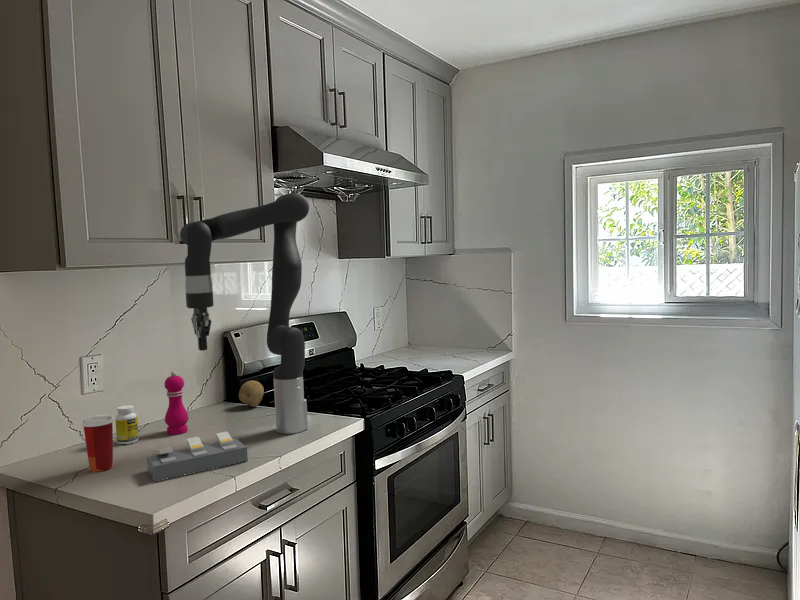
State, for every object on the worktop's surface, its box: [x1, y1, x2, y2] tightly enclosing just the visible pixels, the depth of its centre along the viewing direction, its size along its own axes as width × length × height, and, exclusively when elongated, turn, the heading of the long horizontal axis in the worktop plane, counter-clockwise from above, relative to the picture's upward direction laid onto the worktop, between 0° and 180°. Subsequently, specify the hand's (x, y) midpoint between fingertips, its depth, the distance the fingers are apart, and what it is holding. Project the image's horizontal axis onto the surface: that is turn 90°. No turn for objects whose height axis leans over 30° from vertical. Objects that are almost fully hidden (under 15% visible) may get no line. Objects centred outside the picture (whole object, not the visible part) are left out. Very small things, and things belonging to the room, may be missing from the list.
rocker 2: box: [215, 431, 234, 446], centre depth 170 cm, size 3×5×1 cm, turn 33°
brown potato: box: [238, 380, 265, 408], centre depth 226 cm, size 9×9×10 cm
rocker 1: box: [155, 446, 174, 454], centre depth 162 cm, size 3×5×1 cm, turn 33°
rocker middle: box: [186, 436, 204, 453], centre depth 166 cm, size 3×5×1 cm, turn 33°
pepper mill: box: [164, 370, 189, 436], centre depth 197 cm, size 7×7×20 cm
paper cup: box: [81, 414, 114, 473], centre depth 165 cm, size 8×8×14 cm
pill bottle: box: [114, 404, 140, 445], centre depth 188 cm, size 6×6×11 cm
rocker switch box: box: [146, 438, 249, 482], centre depth 165 cm, size 24×10×4 cm, turn 123°
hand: (202, 350), depth 179 cm, fingers closed
